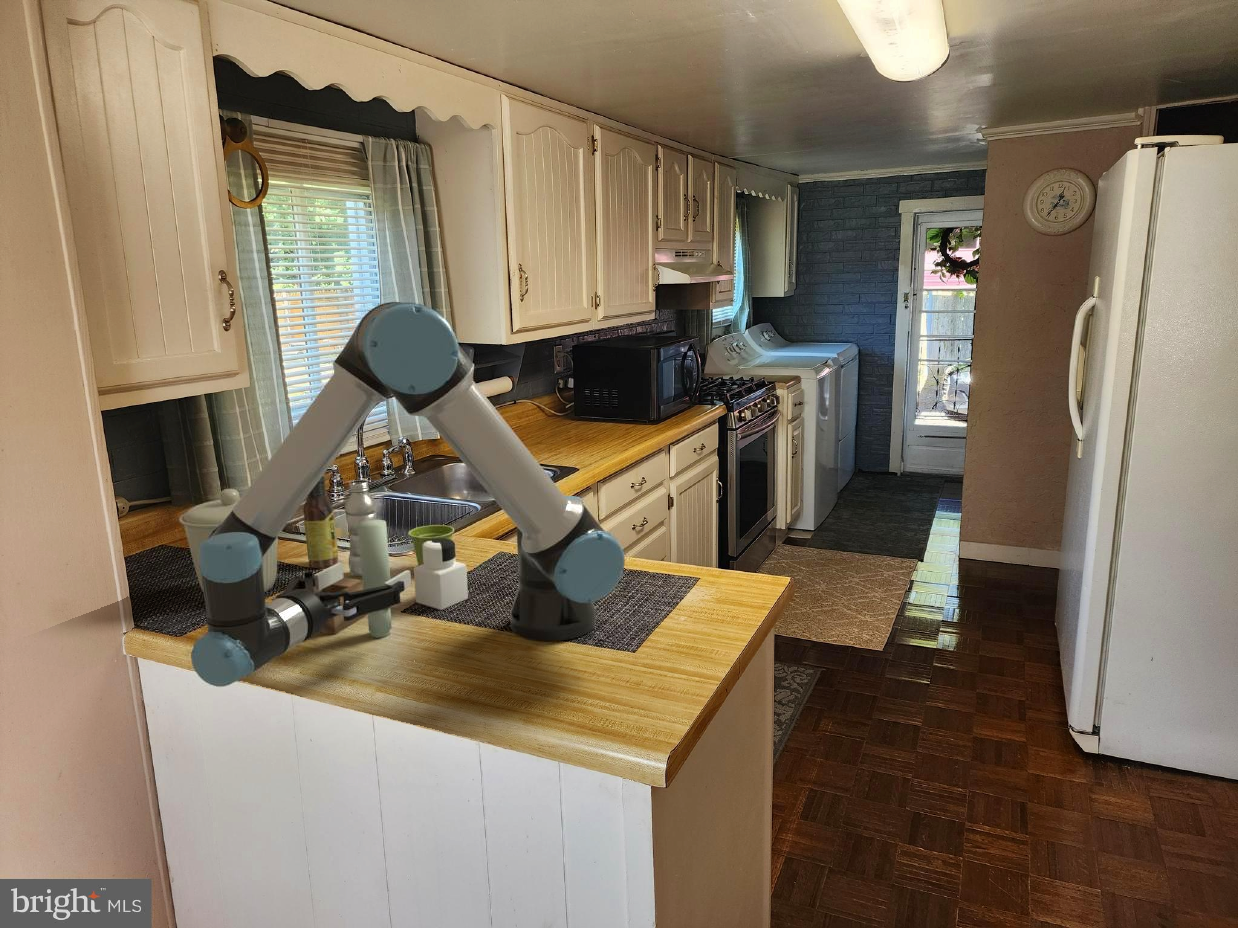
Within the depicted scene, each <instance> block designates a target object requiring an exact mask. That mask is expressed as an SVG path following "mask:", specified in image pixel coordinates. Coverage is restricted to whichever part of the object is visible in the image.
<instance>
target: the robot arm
mask: <svg viewBox="0 0 1238 928" xmlns="http://www.w3.org/2000/svg"><path fill="white" fill-rule="evenodd" d="M332 367H333V371H334V372H333V374H332V376H331V377H330V378H329V380H328V381H327V383H326V384H325V385H324V386H323V388H322V389H321V391H320V392H319V393H318V394H317V396H316V397H315V398H314V400H313V402H311V403H310V405H309V406H308V408H307V409H306V410H305V412H304V413H303V414H302V416H301V417H300V419H298V421H297V423H295V426H294V427H293V428H292V429H291V430H290V432H289V433H288V435H287V436H286V437H285V438H284V440H283V441H282V442H281V444H280V445H279V446H278V448H277V449H276V450H275V452H274V453H273V455H272V456H271V457H270V459H269V460H268V461H267V462H266V464H264V467H263V468H262V469H261V470H260V472H259V473H258V475H257V476H256V477H255V479H254V480H253V481H252V483H251V484H250V486H249V487H248V488H247V489H246V491H245V492H244V493H243V495H241V499H240V500H239V501H238V503H237V504H236V505H235V507H234V508H233V510H232V511H231V513H230V514H229V515H228V516H227V517H226V519H225V520H224V521H223V523H221V524H219V525H218V526H217V527H215V528H214V530H213V531H212V532H211V534H210V536H209V537H208V539H207V540H204V541H203V542H202V543H201V544H200V547H199V558H200V559H199V570H200V572H201V577H202V585H203V591H204V592H203V591H202V592H203V597H204V602H205V603H204V604H205V609H206V627H207V632H206V633H204V634H203V635H201V636H200V637H198V639H197V640H196V641H195V642H194V643H193V647H192V650H191V652H190V660H191V664H192V667H193V670H194V672H195V673H196V674H197V676H198V677H199V678H200V679H201V680H202V681H203V682H205V683H206V684H208V685H211V686H214V687H217V688H223V687H228V686H230V685H231V684H233V683H236V682H238V681H240V680H241V679H243V678H247V677H249V676H251V675H252V674H253V673H254V672H256V671H257V670H258V669H259V670H260V669H261V668H262V667H264V666H265V665H266V664H268V663H270V662H272V661H273V660H274V659H276V658H278V657H281V656H282V655H283V654H285V653H287V652H288V651H290V650H292V649H294V648H295V647H297V646H299V645H300V644H302V643H304V642H306V641H307V640H309V639H311V638H313V637H314V636H316V635H318V634H319V633H321V632H320V631H321V630H322V629H323V627H324V625H325V623H326V621H327V620H328V619H330V618H333V617H335V616H337V615H343V616H344V621H350V620H352V619H354V618H356V617H358V616H361V615H364V614H368V613H371V612H374V611H377V610H381V609H384V608H387V607H390V606H391V607H393V606H396V605H400V604H401V603H402V602H401V594H402V592H404V591H405V590H407V589H409V588H410V587H411V586H412V580H411V579H412V577H411V570H404V571H403V572H400V573H398V574H397V575H396V576H394V577H392V578H390V580H389V581H387V582H385V583H384V586H381V587H376V588H370V589H365V590H360V591H355V592H350V593H349V592H347V591H346V590H344V591H339V592H334V593H330V592H317V593H314V587H315V590H317V591H320V590H322V589H323V588H325V587H327V586H329V585H331V584H333V583H335V582H337V581H339V580H341V579H342V578H345V577H344V567H343V563H342V562H337V564H335V565H333V566H331V567H326V568H325V569H323V570H321V571H319V572H317V573H315V574H313V571H311V570H310V571H305V572H304V578H302V576H300V575H295V576H293V577H292V578H291V580H290V581H289V583H288V584H287V585H286V586H285V588H284V589H283V591H282V592H280V593H279V594H277V595H275V597H276V599H275V600H273V601H272V600H271V601H269V602H268V603H266V602H267V601H266V592H265V590H264V579H263V568H262V557H263V556H264V555H265V553H266V552H267V551H268V549H269V548H270V547H271V545H272V544H273V542H274V541H275V539H276V538H277V536H278V537H279V535H280V533H281V532H282V531H283V530H284V529H285V527H286V525H288V523H289V522H290V520H291V519H292V518H293V516H294V514H296V512H298V510H299V508H300V507H301V506H302V504H303V503H304V501H305V500H307V498H308V495H309V493H310V492H311V491H312V489H313V488H314V487H315V485H316V484H317V483H318V481H319V480H320V479H321V477H322V476H323V475H325V473H326V472H327V471H328V470H329V468H330V466H332V464H333V463H334V461H335V460H336V458H337V457H338V456H339V454H341V452H342V450H343V449H344V448H345V446H346V445H347V444H348V442H349V441H350V440H351V438H352V437H353V436H354V434H355V433H356V431H358V429H359V428H360V426H361V425H362V424H363V422H364V421H365V420H366V419H367V417H368V415H369V414H370V413H371V412H372V410H373V409H374V408H375V407H376V405H377V404H378V403H384V402H387V401H388V400H389V399H390V398H391V396H393V398H395V400H396V401H397V402H398V403H399V404H400V406H401V407H402V408H403V409H404V410H405V411H406V413H407V414H408V415H409V416H414V417H415V416H416V417H423V418H425V419H427V421H428V422H429V423H430V424H431V426H432V427H433V428H434V429H435V430H436V432H437V434H439V435H440V436H441V438H442V439H443V440H444V441H445V442H446V444H447V445H448V446H449V447H450V449H451V450H452V451H453V452H454V453H455V454H456V456H457V457H458V458H459V459H460V460H461V461H462V463H463V464H464V466H466V468H467V469H468V470H469V471H470V473H472V475H473V476H474V477H475V478H476V479H477V481H478V482H479V483H480V484H481V485H482V486H483V487H484V489H485V490H486V491H487V492H488V494H489V495H490V496H491V497H492V499H493V500H494V501H495V502H496V504H497V505H498V506H499V507H500V508H501V509H502V511H503V512H504V513H505V514H506V515H507V516H508V517H509V519H510V520H511V521H512V523H513V524H514V525H515V526H516V546H517V547H516V549H517V566H518V567H517V568H518V587H517V590H516V593H515V598H514V600H513V603H512V608H511V610H510V615H509V616H510V621H509V622H510V629H511V630H512V632H513V633H514V634H516V635H517V636H519V637H521V638H524V639H527V640H531V641H532V640H533V641H539V642H557V641H566V640H571V639H576V638H579V637H582V636H584V635H587V634H588V633H590V632H591V631H593V630H594V628H595V627H596V625H597V610H596V607H595V605H594V602H597V601H599V600H601V599H603V598H605V597H606V596H608V595H609V594H610V593H612V591H613V590H614V589H615V588H616V587H617V586H618V584H619V582H620V580H621V579H622V578H623V577H622V576H623V573H624V568H625V565H626V564H625V563H626V558H625V553H624V549H623V547H622V545H621V543H619V541H618V539H617V538H616V537H615V536H614V535H613V534H611V533H609V532H607V531H606V530H605V529H604V528H603V527H602V526H601V525H600V524H599V522H598V521H597V520H596V518H595V517H594V516H593V515H592V513H591V512H590V511H589V509H588V508H587V507H586V506H585V504H584V500H583V499H582V498H581V497H579V496H575V495H564V494H563V492H562V491H561V490H560V489H559V487H558V486H557V485H556V483H555V482H554V481H553V480H552V478H551V477H550V476H549V475H548V473H547V472H546V470H545V469H544V468H543V467H542V466H541V464H539V462H538V461H537V459H536V458H535V457H534V456H533V454H532V453H531V452H530V450H529V449H528V448H527V447H526V446H525V444H524V443H523V442H522V440H521V439H520V438H519V437H518V435H517V434H516V433H515V431H514V430H513V429H512V428H511V426H510V425H509V424H508V422H507V421H506V420H505V419H504V418H503V417H502V414H500V412H498V410H497V409H496V407H495V406H494V405H493V404H492V403H491V401H490V399H488V398H487V396H486V394H485V393H484V392H483V391H482V390H481V389H480V387H479V386H478V385H477V383H476V382H475V381H474V372H475V371H474V370H475V363H473V361H472V360H471V359H470V358H469V356H468V355H467V354H466V352H465V350H463V348H462V347H461V346H460V345H459V343H458V340H457V337H456V333H455V332H454V330H453V328H452V326H451V325H450V323H449V322H448V321H447V320H446V319H445V318H444V316H442V315H441V314H440V313H439V312H437V311H436V310H434V309H432V308H430V307H428V306H426V305H425V304H420V303H416V302H402V301H401V302H399V301H390V302H383V303H382V304H379V305H376V306H375V307H373V308H371V309H370V310H369V311H368V312H366V314H364V316H363V317H362V318H361V319H360V321H359V322H358V324H357V326H356V327H355V329H354V330H353V332H352V333H351V336H350V338H349V339H348V341H347V342H346V344H345V345H344V347H343V349H342V350H341V351H340V353H339V354H338V356H337V357H336V358H335V359H334V360H333V363H332ZM305 589H306V590H305ZM340 597H343V601H344V604H343V606H340ZM391 607H390V608H391Z"/></svg>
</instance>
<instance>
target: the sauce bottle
mask: <svg viewBox="0 0 1238 928" xmlns="http://www.w3.org/2000/svg"><path fill="white" fill-rule="evenodd" d="M302 508H303V509H302V510H303V511H302V512H303V518H304V519H303V523H304V533H305V541H306V542H305V543H306V551H307V559H308V563H309V566H310V568H315V569H324V568H325V569H326V568H329V567H331V566H333V565H335V564H337V563H339V549H338V548H339V547H338V538H337V536H338V535H337V528H336V527H337V526H336V519H335V518H336V517H335V509H334V506H333V505H332V503H331V501H330V499H329V497H328V495H327V489H326V474H324V475H323V476H322V477H321V479H320V480H319V481H318V483H317V484H316V485H315V487H314V488H313V489H312V491H311V492H310V493H309V495H308V496H307V498H306V501H305V503H304V506H303V507H302Z"/></svg>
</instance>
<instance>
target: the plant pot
mask: <svg viewBox="0 0 1238 928" xmlns="http://www.w3.org/2000/svg"><path fill="white" fill-rule="evenodd" d="M454 533H455V528H454V527H452V526H449V525H445V524H443V525H442V524H432V525H423V526H417V527H415V528H413V529H411V530H409V531H408V536H409V537H410V539H411V542H412V544H413V548H414V552H415V556H416V562H417V566H420V565H422V564H424V563H423V549H422V545H423V544H424V543H425V542H426V541H428V540H431V539H436V538H446V539H450V540H452V539H453V534H454Z"/></svg>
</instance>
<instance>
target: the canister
mask: <svg viewBox="0 0 1238 928" xmlns="http://www.w3.org/2000/svg"><path fill="white" fill-rule="evenodd" d="M218 497H219V499H216V500H211V501H206V502H203V503H201V504H197V505H195V506H193V507H191V508H189V509H188V510H187V511H186V512H184V513H183V514H182V515H180V516H179V520H178V521H179V523H180V524H181V525H183V526H184V531H185V535H186V539H187V542H188V546H189V551H190V553H191V558H192V561H193V565H194V570H195V572H196V573H195V574H196V577H197V580H198V583H199V586H200V589H201V591H202V592H203V593H204V591H203V585H202V577H201V572H200V570H199V559H200V558H199V547H200V544H201V543H202V542H203V541H204V540H207V539H208V537H209V536H210V534H211V532H212V531H213V530H214V528H215V527H217V526H218V525H219V524H221V523H223V521H224V520H225V519H226V517H227V516H228V515H229V514H230V513H231V511H232V510H233V508H234V507H235V505H236V504H237V503H238V501H239V500H240V499H241V497H242V496H241V497H240V492H239V491H238V490H237V489H235V488H226V489H223V490H221V492H219V496H218ZM278 538H279V535H278V536H277V538H276V539H275V541H274V542H273V544H272V545H271V547H270V548H269V549H268V551H267V552H266V553H265V555H264V556H263V557H262V568H263V579H264V590H265V593H267V592H268V591H269V590H271V589H272V587H273V586H274V584H275V582H276V580H277V572H278V551H279V549H278V548H279V547H278V546H279V545H278V544H279V542H278V540H279V539H278Z"/></svg>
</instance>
